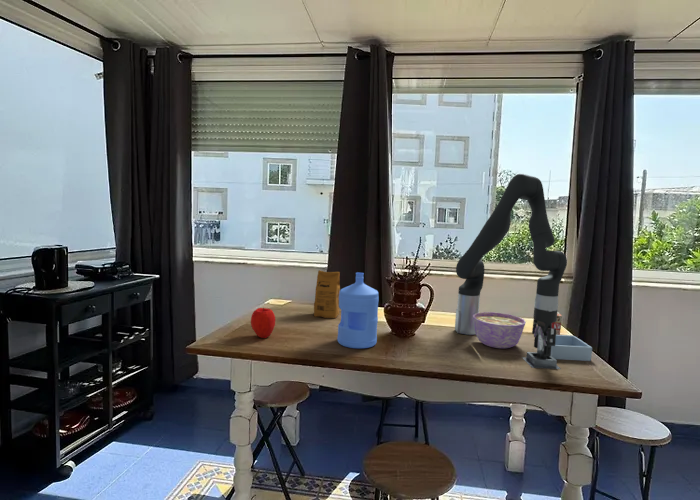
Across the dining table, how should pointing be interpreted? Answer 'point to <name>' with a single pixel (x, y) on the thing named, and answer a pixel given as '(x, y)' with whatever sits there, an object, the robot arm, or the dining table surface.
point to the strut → (540, 347)
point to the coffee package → (327, 295)
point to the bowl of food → (498, 329)
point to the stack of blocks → (557, 324)
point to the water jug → (358, 315)
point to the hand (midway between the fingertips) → (541, 351)
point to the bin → (570, 348)
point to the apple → (263, 322)
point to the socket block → (540, 361)
